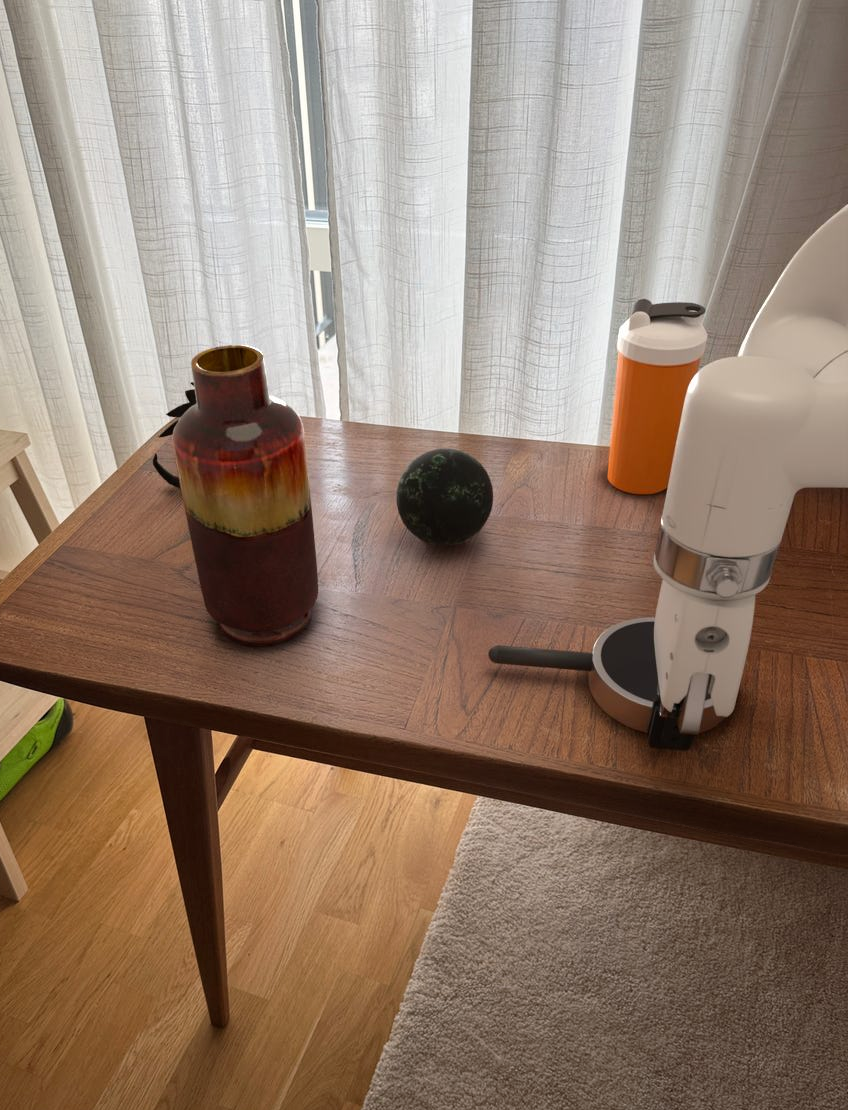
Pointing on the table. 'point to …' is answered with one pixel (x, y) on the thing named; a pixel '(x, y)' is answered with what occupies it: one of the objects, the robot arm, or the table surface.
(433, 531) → the decorative stone
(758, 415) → the robot arm
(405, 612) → the table surface
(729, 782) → the table surface
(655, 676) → the pan
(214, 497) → the vase
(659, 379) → the shaker bottle
